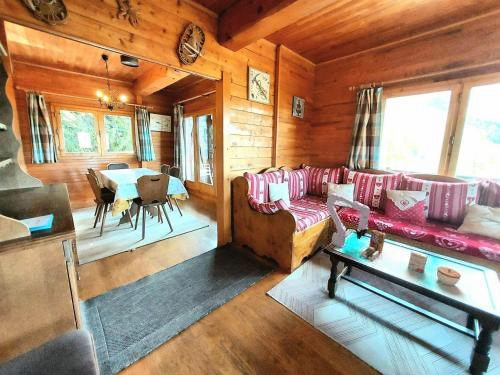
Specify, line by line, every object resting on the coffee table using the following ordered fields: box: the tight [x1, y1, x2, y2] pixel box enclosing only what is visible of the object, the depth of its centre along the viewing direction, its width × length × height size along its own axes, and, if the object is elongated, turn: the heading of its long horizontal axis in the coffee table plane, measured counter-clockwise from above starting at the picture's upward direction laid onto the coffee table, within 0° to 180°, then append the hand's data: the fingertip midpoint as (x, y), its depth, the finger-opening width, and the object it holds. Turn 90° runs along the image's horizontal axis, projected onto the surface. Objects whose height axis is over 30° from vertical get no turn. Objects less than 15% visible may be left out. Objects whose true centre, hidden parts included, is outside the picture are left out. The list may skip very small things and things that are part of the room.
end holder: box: [361, 246, 379, 261], centre depth 164 cm, size 8×9×4 cm
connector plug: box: [365, 246, 376, 259], centre depth 162 cm, size 4×9×6 cm, turn 131°
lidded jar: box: [436, 266, 462, 287], centre depth 136 cm, size 11×11×9 cm
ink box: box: [407, 250, 429, 274], centre depth 148 cm, size 9×5×12 cm, turn 42°
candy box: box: [368, 229, 386, 253], centre depth 172 cm, size 9×4×15 cm, turn 39°
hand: (360, 237), depth 172 cm, fingers open, 7 cm apart
